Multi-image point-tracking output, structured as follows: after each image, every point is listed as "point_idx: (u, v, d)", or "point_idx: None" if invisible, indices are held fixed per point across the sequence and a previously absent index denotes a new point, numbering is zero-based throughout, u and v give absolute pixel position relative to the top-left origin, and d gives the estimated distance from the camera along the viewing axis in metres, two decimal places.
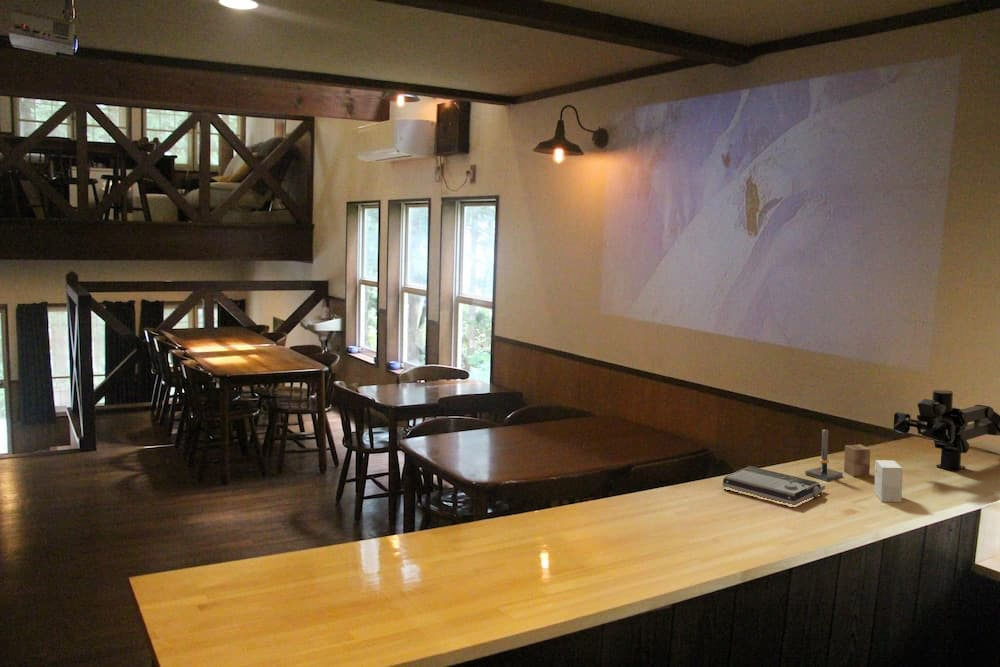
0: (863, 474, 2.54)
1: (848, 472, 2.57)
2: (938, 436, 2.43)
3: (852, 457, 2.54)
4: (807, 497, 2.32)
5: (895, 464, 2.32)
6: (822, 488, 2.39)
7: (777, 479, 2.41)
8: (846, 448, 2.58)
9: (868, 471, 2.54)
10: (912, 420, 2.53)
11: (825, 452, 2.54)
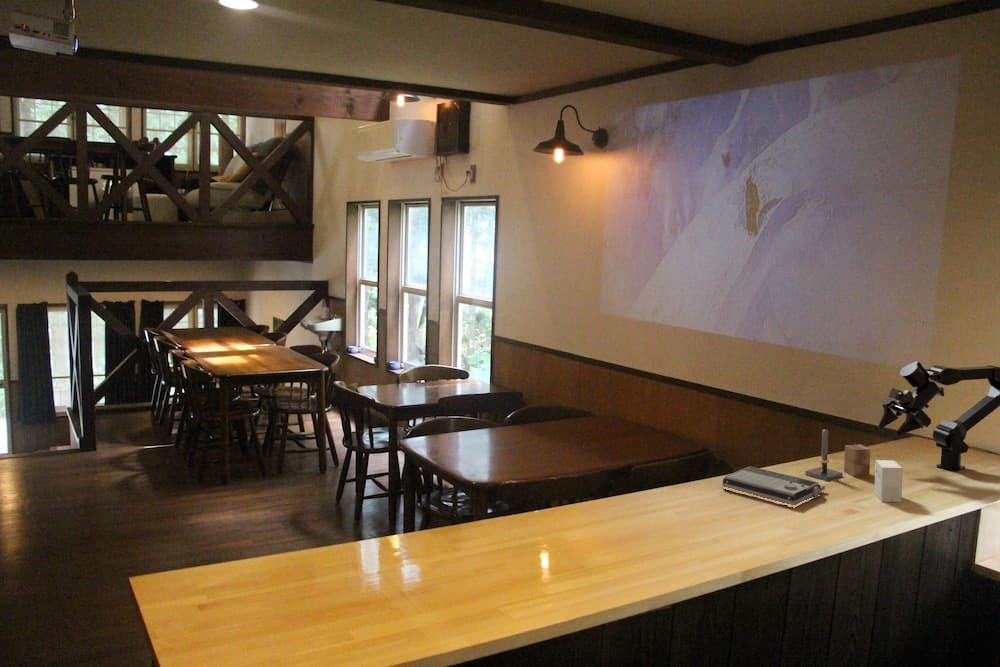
0: (863, 474, 2.54)
1: (848, 472, 2.57)
2: (915, 425, 2.50)
3: (852, 457, 2.54)
4: (807, 497, 2.32)
5: (895, 464, 2.32)
6: (822, 488, 2.39)
7: (777, 479, 2.41)
8: (846, 448, 2.58)
9: (868, 471, 2.54)
10: (896, 406, 2.59)
11: (825, 452, 2.54)
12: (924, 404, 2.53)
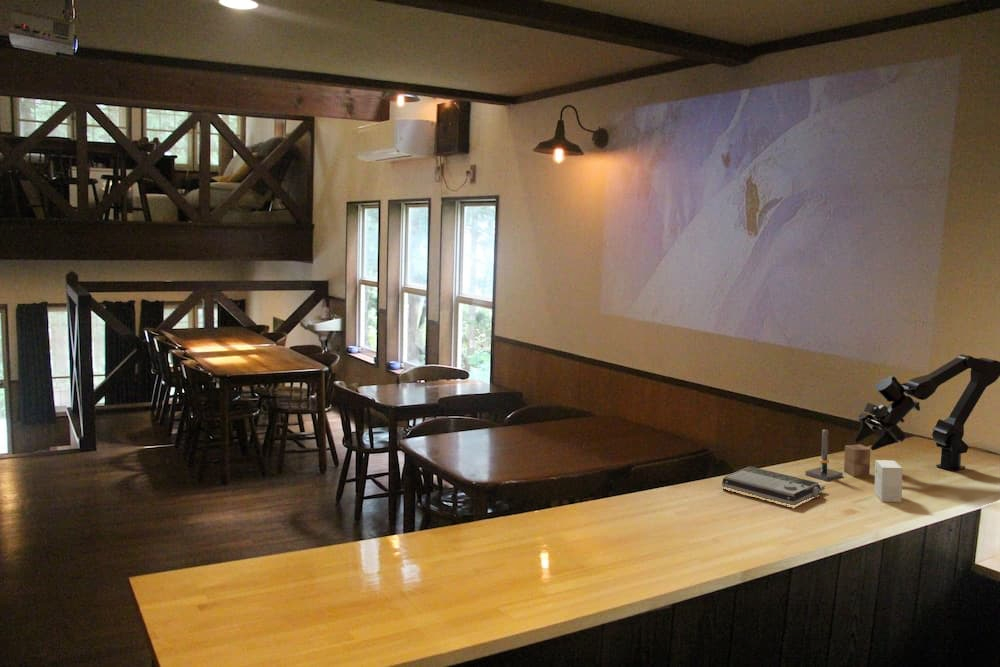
0: (863, 474, 2.54)
1: (848, 472, 2.57)
2: (890, 440, 2.50)
3: (852, 457, 2.54)
4: (806, 497, 2.32)
5: (895, 464, 2.32)
6: (822, 488, 2.39)
7: (776, 479, 2.41)
8: (846, 448, 2.58)
9: (868, 471, 2.54)
10: (872, 421, 2.59)
11: (825, 452, 2.54)
12: (899, 419, 2.53)
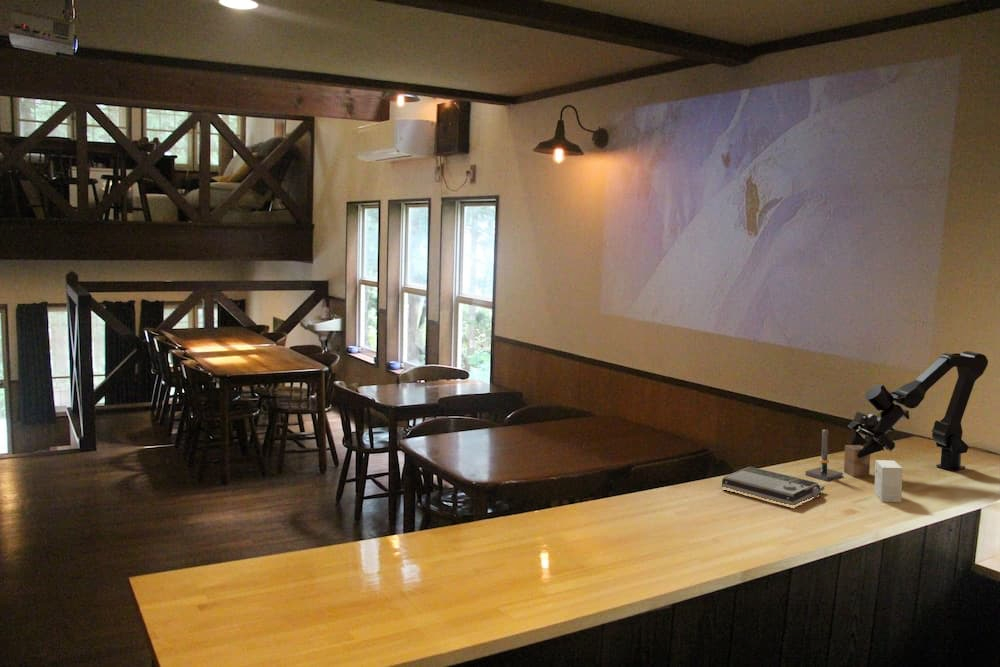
0: (863, 474, 2.54)
1: (848, 472, 2.57)
2: (876, 447, 2.52)
3: (852, 457, 2.54)
4: (806, 498, 2.32)
5: (895, 464, 2.32)
6: (821, 489, 2.39)
7: (776, 479, 2.40)
8: (846, 447, 2.58)
9: (868, 471, 2.54)
10: (862, 429, 2.59)
11: (825, 452, 2.54)
12: (889, 427, 2.53)
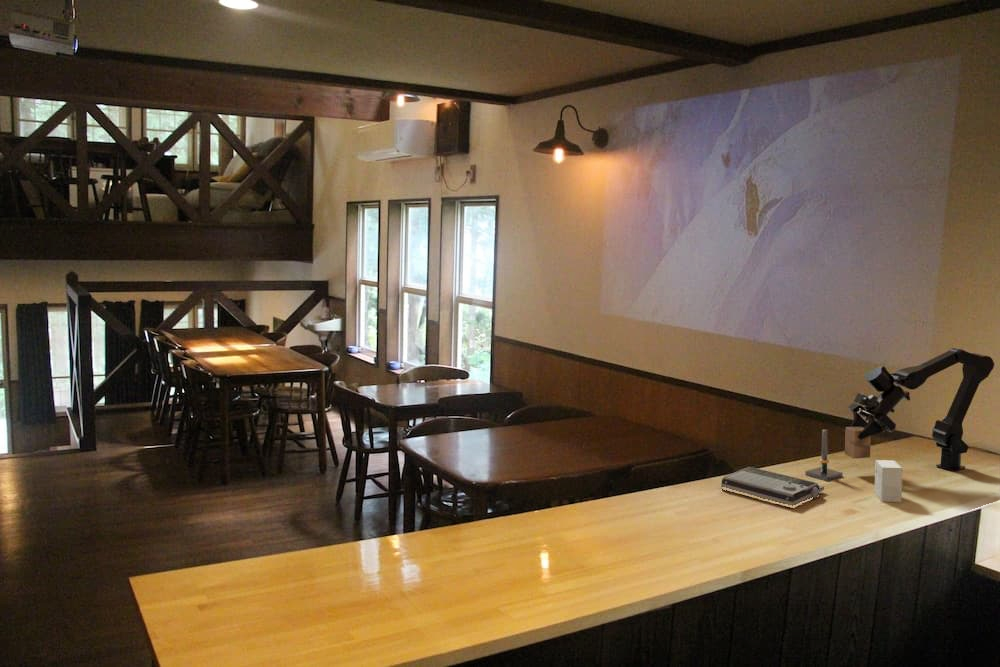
0: (864, 455, 2.54)
1: (849, 454, 2.56)
2: (877, 429, 2.51)
3: (853, 439, 2.53)
4: (806, 498, 2.32)
5: (895, 464, 2.32)
6: (821, 489, 2.39)
7: (776, 480, 2.40)
8: (846, 429, 2.57)
9: (869, 452, 2.54)
10: (862, 411, 2.59)
11: (825, 452, 2.54)
12: (889, 409, 2.53)
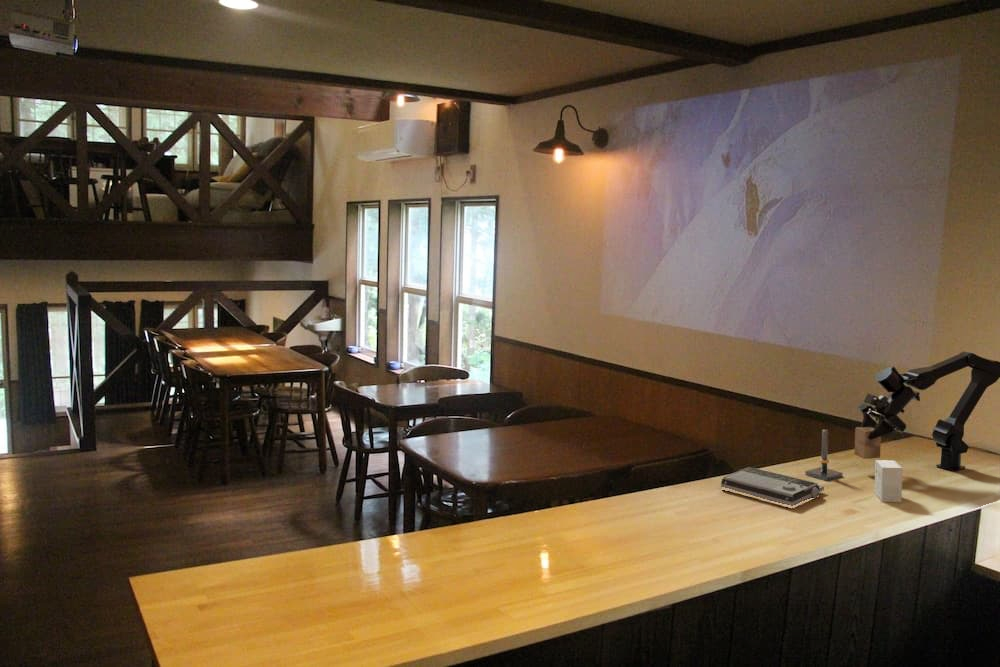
0: (874, 456, 2.54)
1: (859, 454, 2.56)
2: (887, 429, 2.51)
3: (863, 439, 2.53)
4: (805, 498, 2.31)
5: (895, 464, 2.32)
6: (821, 489, 2.39)
7: (775, 480, 2.40)
8: (856, 430, 2.57)
9: (879, 453, 2.54)
10: (872, 412, 2.59)
11: (825, 452, 2.54)
12: (900, 409, 2.53)
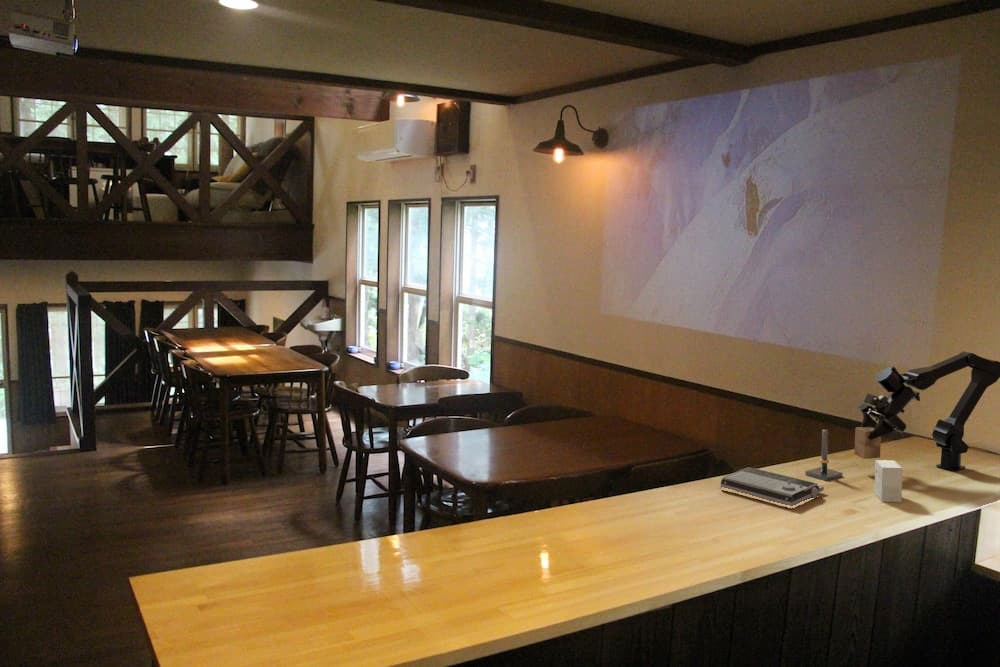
0: (874, 456, 2.54)
1: (859, 454, 2.56)
2: (887, 429, 2.51)
3: (863, 439, 2.53)
4: (805, 498, 2.31)
5: (895, 464, 2.32)
6: (820, 489, 2.38)
7: (775, 480, 2.40)
8: (856, 430, 2.57)
9: (879, 453, 2.54)
10: (872, 412, 2.59)
11: (825, 452, 2.54)
12: (900, 409, 2.53)
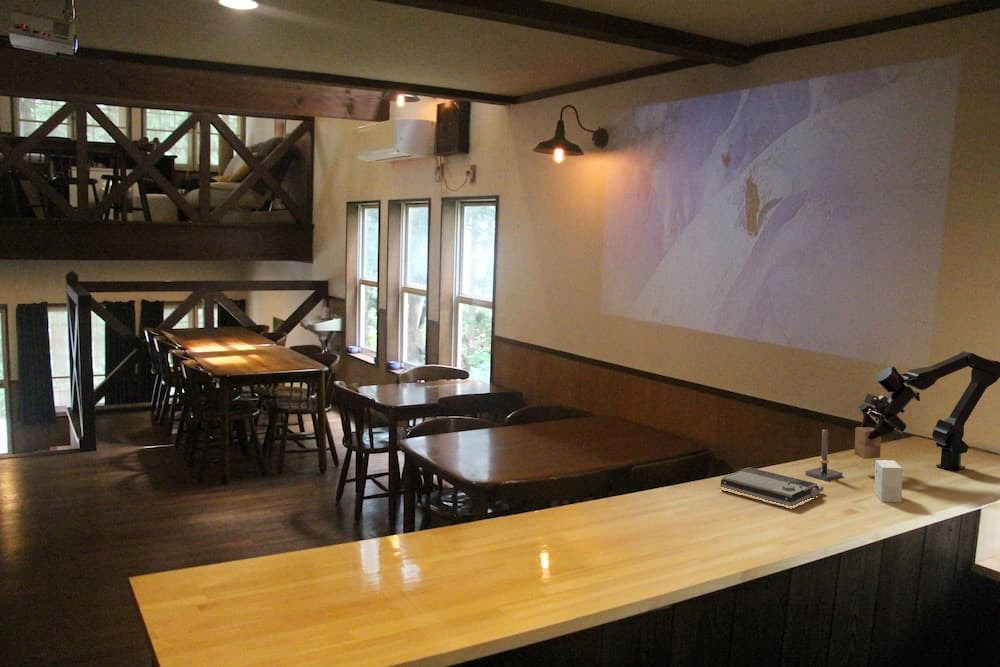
0: (874, 456, 2.54)
1: (859, 454, 2.56)
2: (887, 429, 2.51)
3: (863, 439, 2.53)
4: (805, 498, 2.31)
5: (895, 464, 2.32)
6: (820, 489, 2.38)
7: (775, 480, 2.40)
8: (856, 430, 2.57)
9: (879, 453, 2.54)
10: (872, 412, 2.59)
11: (825, 452, 2.54)
12: (900, 409, 2.53)
